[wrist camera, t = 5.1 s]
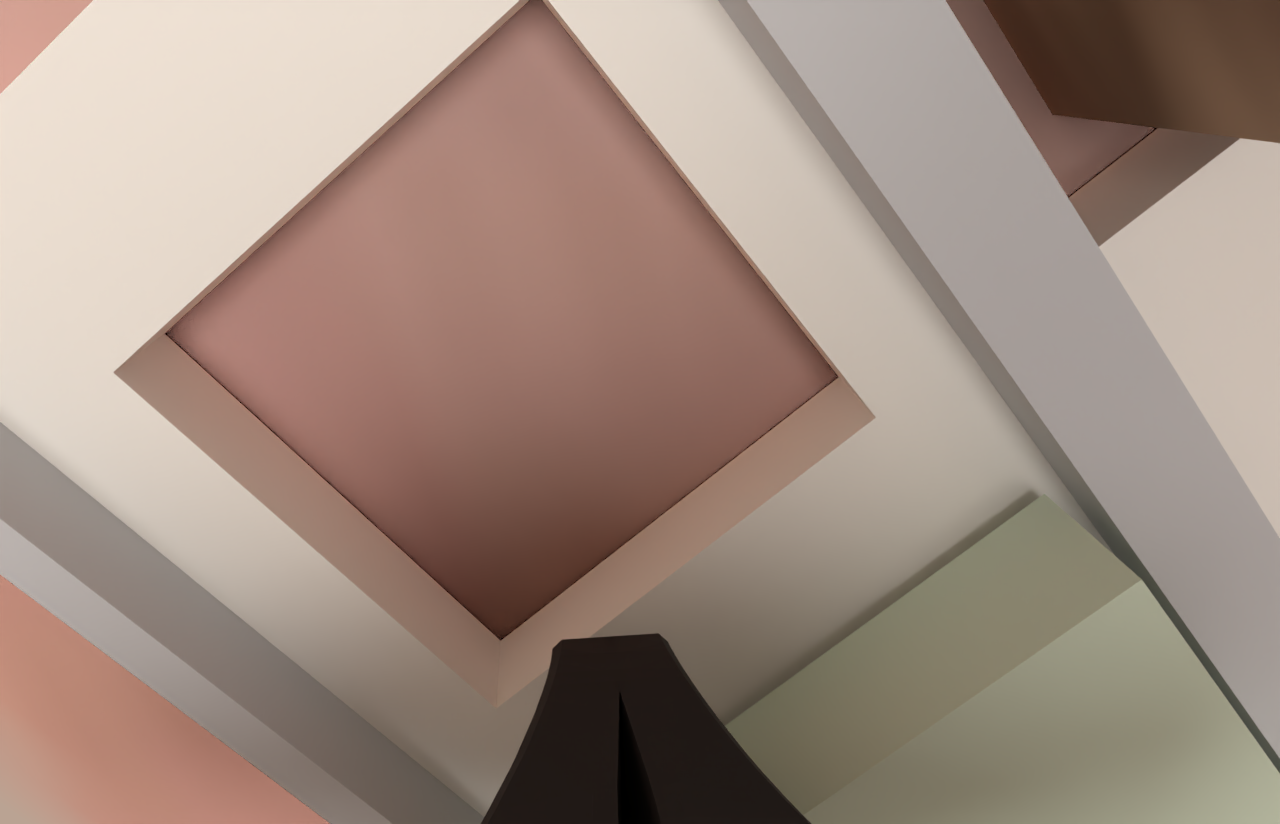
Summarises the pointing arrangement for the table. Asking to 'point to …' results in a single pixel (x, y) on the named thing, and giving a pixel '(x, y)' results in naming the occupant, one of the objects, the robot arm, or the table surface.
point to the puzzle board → (726, 502)
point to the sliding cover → (1014, 702)
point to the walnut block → (1153, 61)
